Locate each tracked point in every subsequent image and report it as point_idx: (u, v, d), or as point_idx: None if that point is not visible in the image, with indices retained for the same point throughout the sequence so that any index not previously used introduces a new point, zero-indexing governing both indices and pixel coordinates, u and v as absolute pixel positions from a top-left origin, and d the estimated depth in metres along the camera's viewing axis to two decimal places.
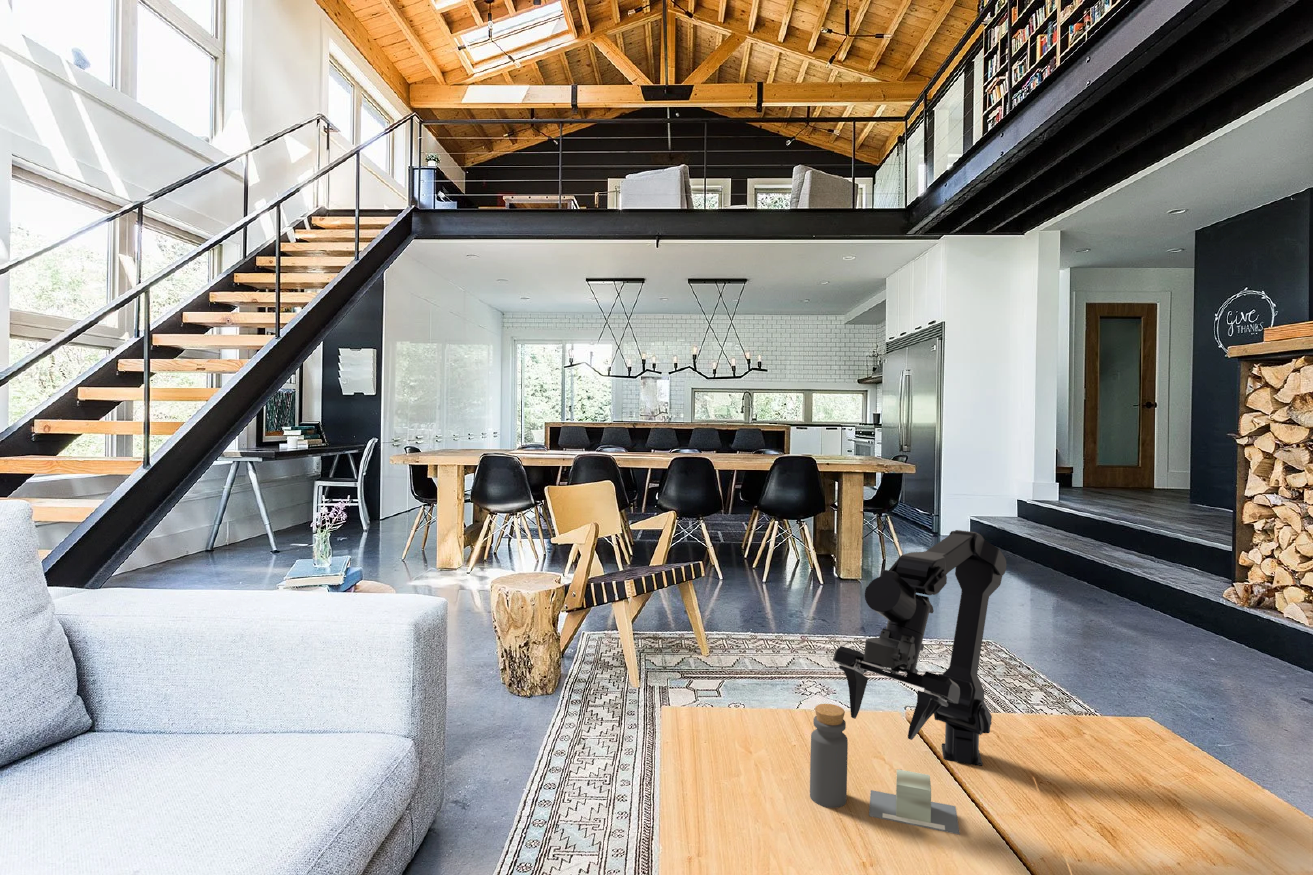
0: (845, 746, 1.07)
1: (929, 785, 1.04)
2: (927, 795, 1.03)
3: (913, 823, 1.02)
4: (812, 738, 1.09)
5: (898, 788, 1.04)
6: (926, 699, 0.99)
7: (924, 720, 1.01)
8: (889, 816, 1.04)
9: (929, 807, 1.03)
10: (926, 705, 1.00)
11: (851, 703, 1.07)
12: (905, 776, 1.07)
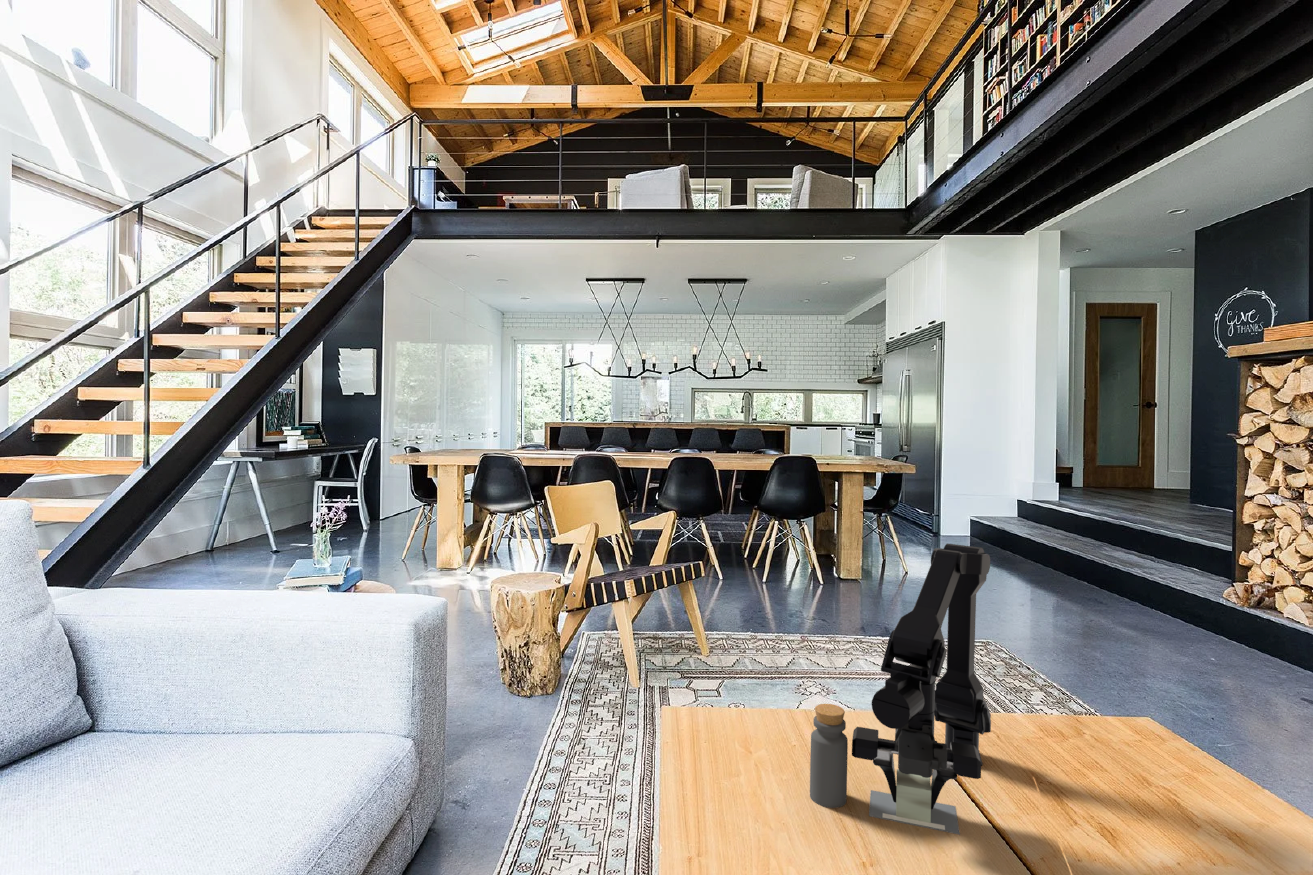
0: (845, 746, 1.07)
1: (929, 785, 1.04)
2: (927, 795, 1.03)
3: (913, 823, 1.02)
4: (812, 738, 1.09)
5: (898, 788, 1.04)
6: (946, 779, 1.02)
7: None
8: (889, 816, 1.04)
9: (929, 807, 1.03)
10: (944, 781, 1.03)
11: (892, 791, 1.06)
12: (905, 776, 1.07)
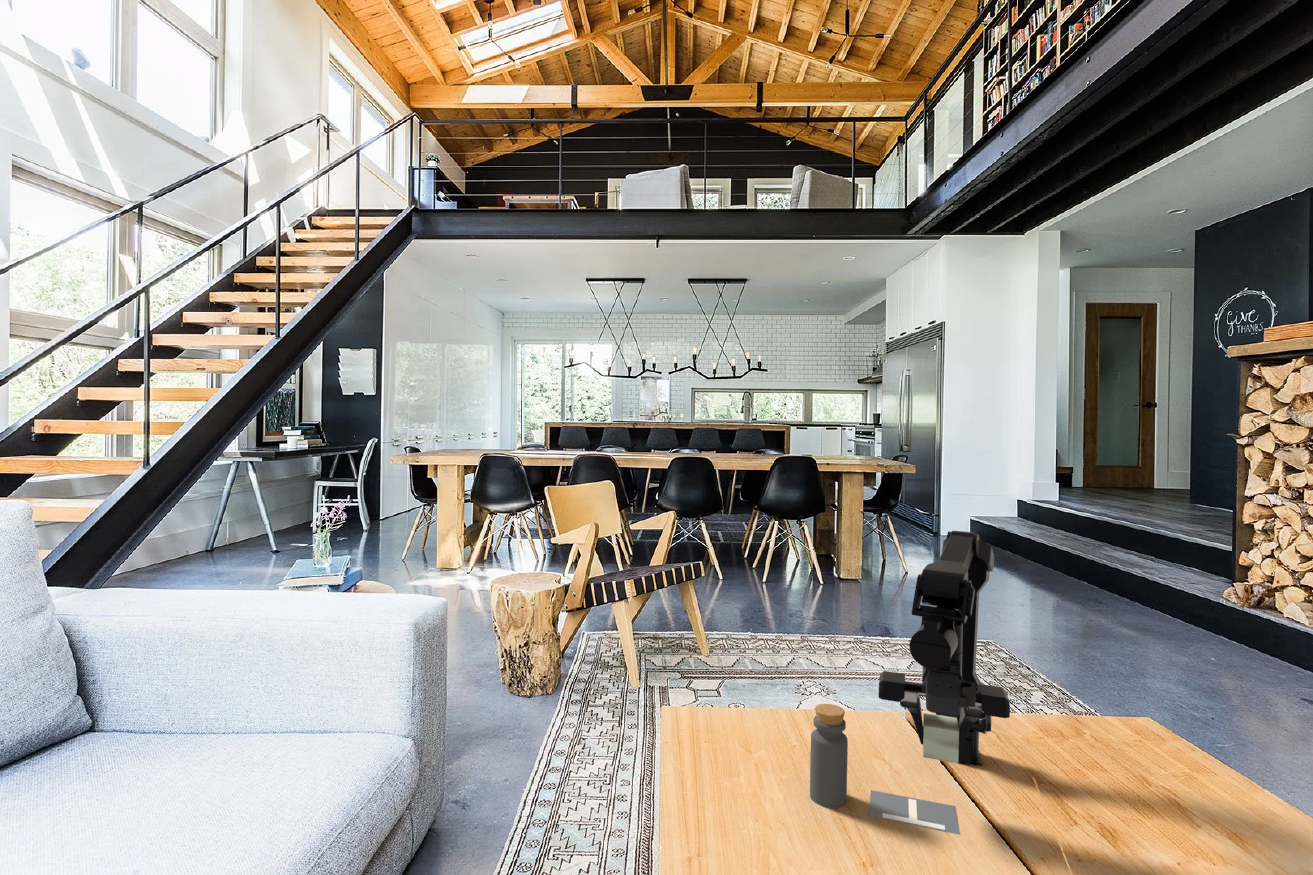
0: (845, 746, 1.07)
1: (956, 726, 1.04)
2: (955, 736, 1.03)
3: (913, 823, 1.02)
4: (812, 738, 1.09)
5: (925, 729, 1.04)
6: (974, 719, 1.02)
7: None
8: (889, 816, 1.04)
9: (957, 748, 1.02)
10: (972, 722, 1.02)
11: (919, 733, 1.06)
12: (932, 718, 1.07)
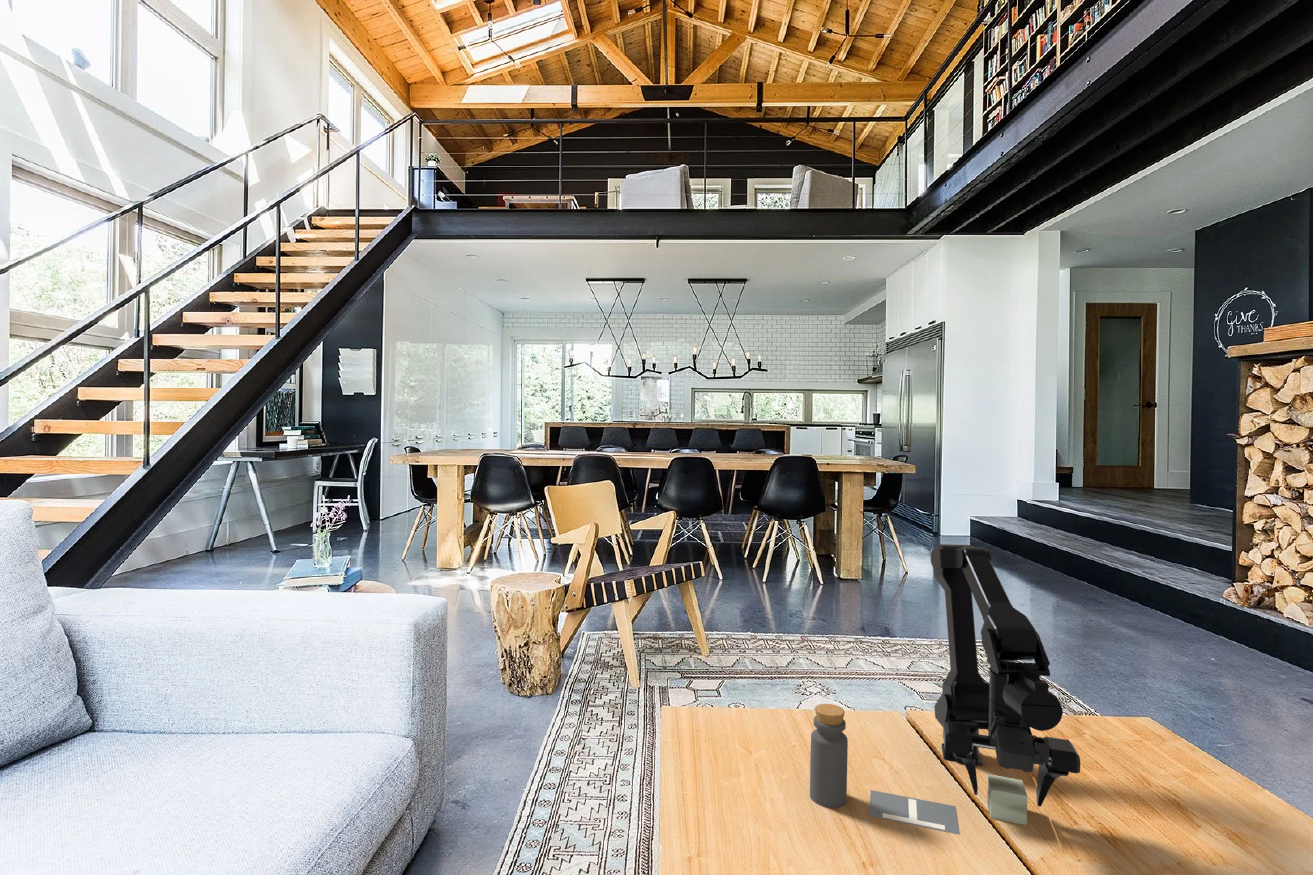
0: (845, 746, 1.07)
1: (1024, 790, 1.04)
2: (1023, 801, 1.03)
3: (913, 823, 1.02)
4: (812, 738, 1.09)
5: (993, 793, 1.04)
6: (1057, 776, 1.01)
7: None
8: (889, 816, 1.04)
9: (1025, 812, 1.02)
10: (1055, 778, 1.02)
11: (973, 783, 1.06)
12: (998, 781, 1.07)
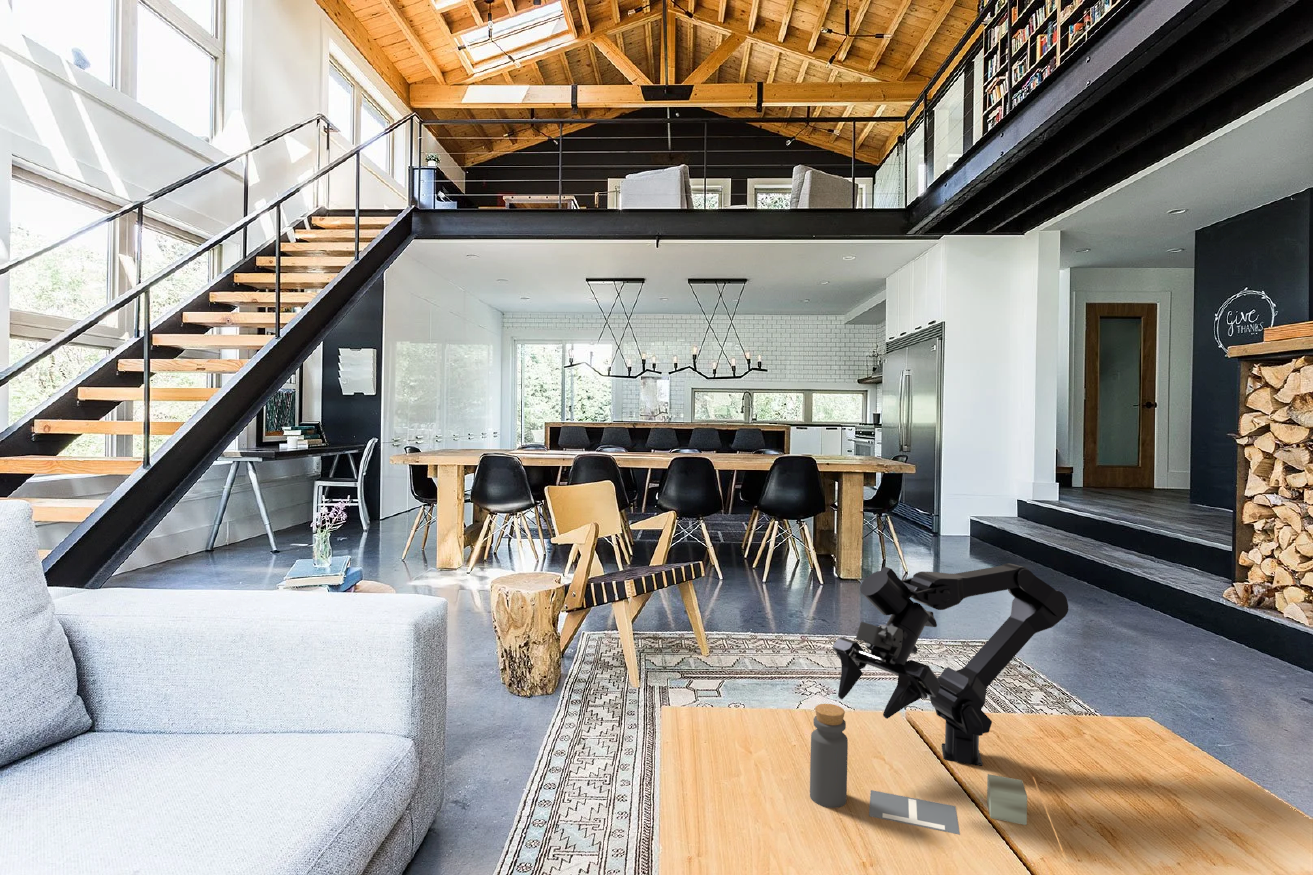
0: (845, 746, 1.07)
1: (1024, 790, 1.04)
2: (1023, 801, 1.03)
3: (913, 823, 1.02)
4: (812, 738, 1.09)
5: (992, 793, 1.04)
6: (905, 681, 1.10)
7: (902, 704, 1.10)
8: (889, 816, 1.04)
9: (1025, 812, 1.02)
10: (904, 687, 1.10)
11: (840, 684, 1.18)
12: (998, 781, 1.07)
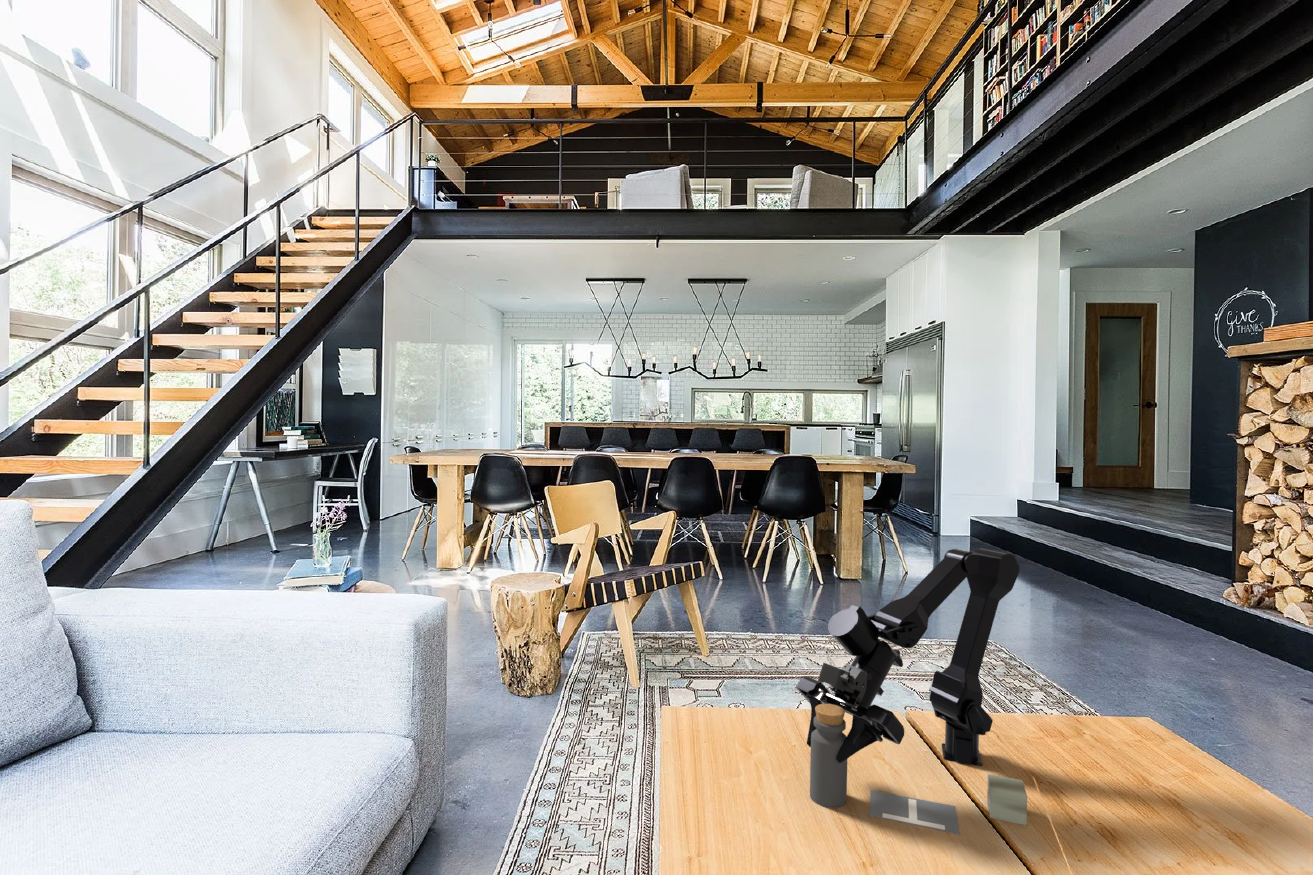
0: None
1: (1024, 790, 1.04)
2: (1023, 801, 1.03)
3: (913, 823, 1.02)
4: (812, 738, 1.09)
5: (992, 793, 1.04)
6: (859, 724, 1.06)
7: (856, 748, 1.07)
8: (889, 816, 1.04)
9: (1025, 812, 1.02)
10: (858, 730, 1.06)
11: (809, 731, 1.12)
12: (998, 781, 1.07)
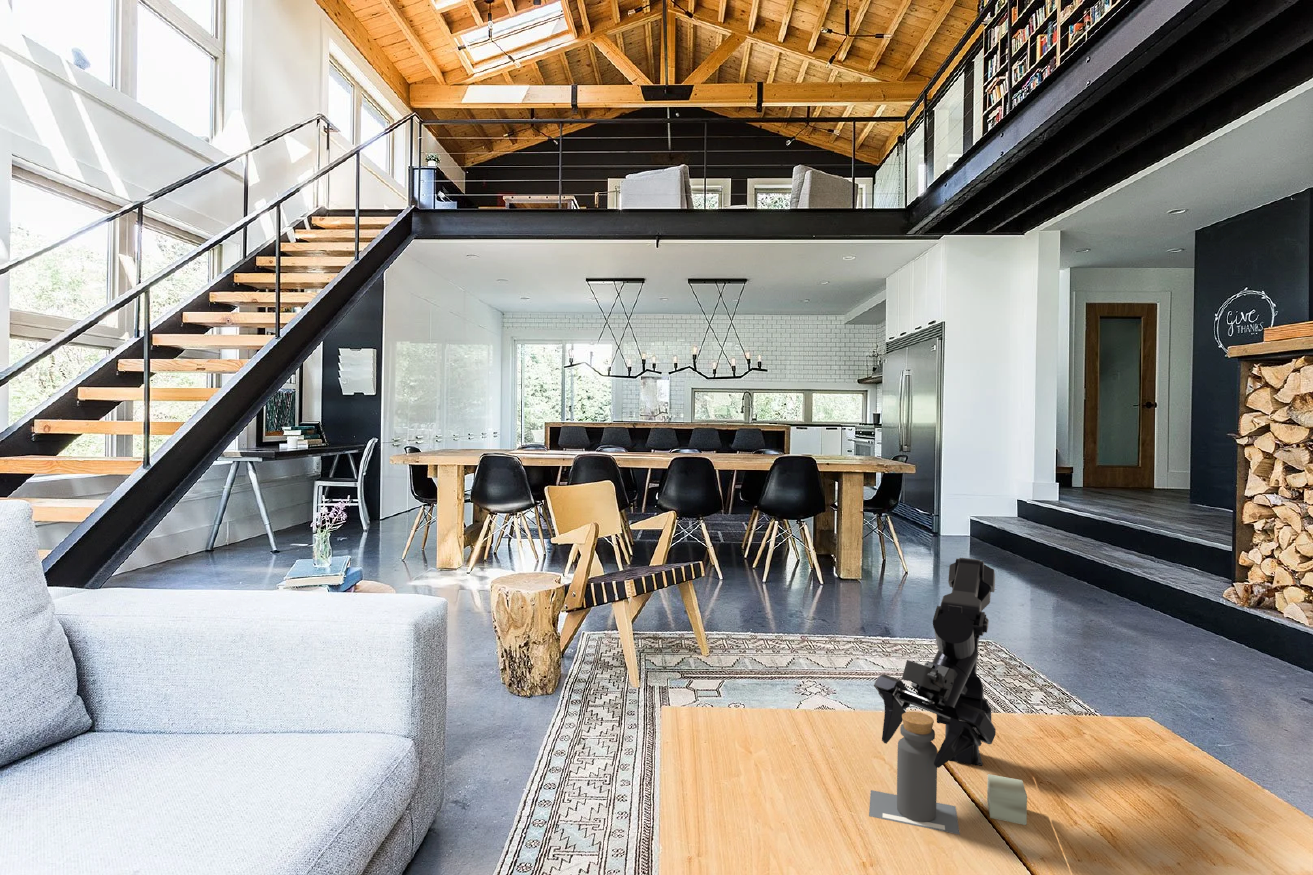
0: (935, 756, 1.03)
1: (1024, 790, 1.04)
2: (1023, 801, 1.03)
3: (913, 823, 1.02)
4: (900, 748, 1.05)
5: (992, 793, 1.04)
6: (958, 727, 1.01)
7: (954, 752, 1.02)
8: (889, 816, 1.04)
9: (1025, 812, 1.02)
10: (957, 734, 1.01)
11: (884, 727, 1.09)
12: (998, 781, 1.07)
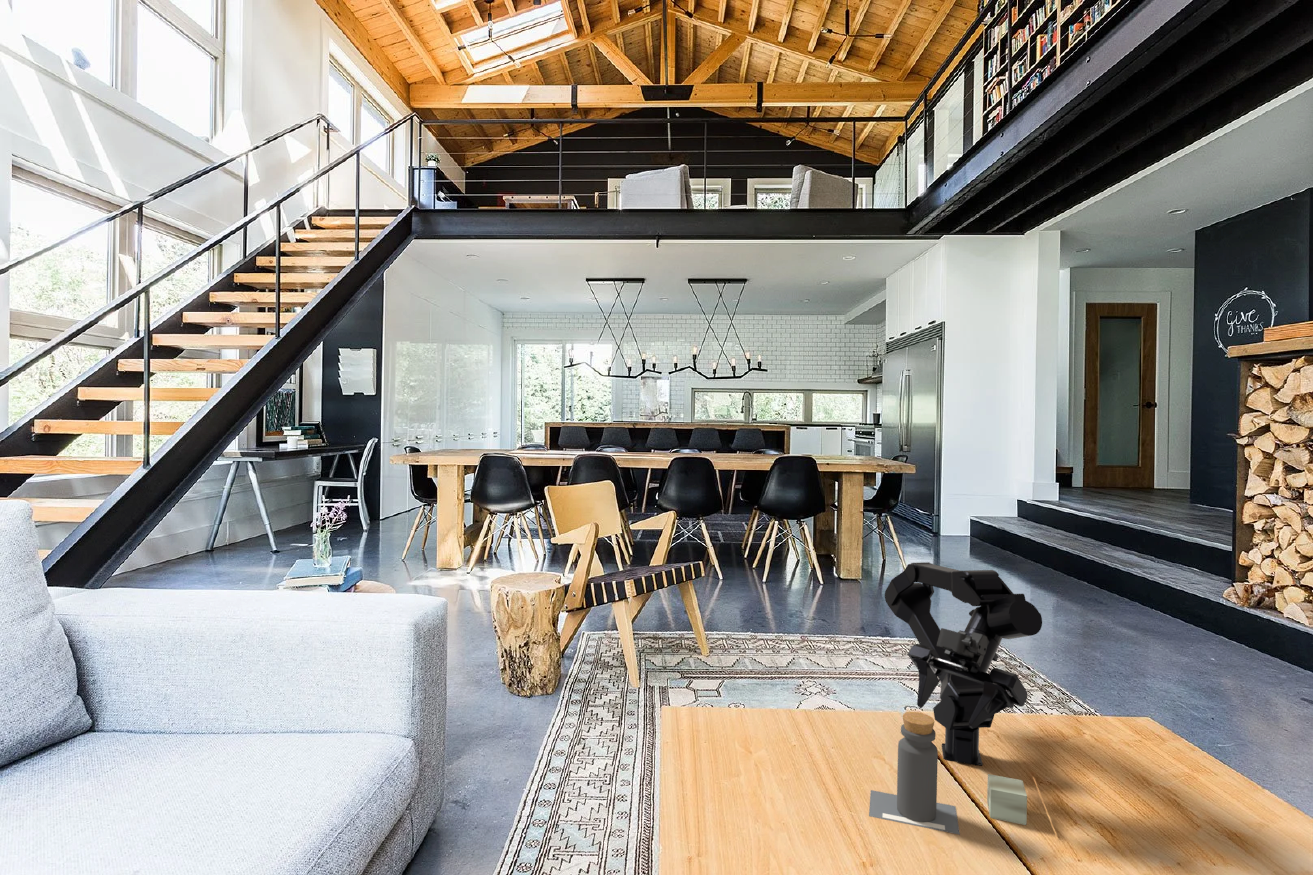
0: (936, 756, 1.03)
1: (1024, 790, 1.04)
2: (1023, 801, 1.03)
3: (913, 823, 1.02)
4: (900, 748, 1.05)
5: (992, 793, 1.04)
6: (992, 690, 1.06)
7: (988, 714, 1.07)
8: (889, 816, 1.04)
9: (1025, 812, 1.02)
10: (991, 696, 1.06)
11: (919, 692, 1.15)
12: (998, 781, 1.07)
